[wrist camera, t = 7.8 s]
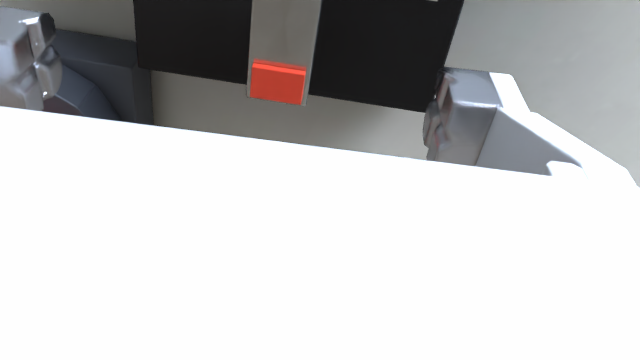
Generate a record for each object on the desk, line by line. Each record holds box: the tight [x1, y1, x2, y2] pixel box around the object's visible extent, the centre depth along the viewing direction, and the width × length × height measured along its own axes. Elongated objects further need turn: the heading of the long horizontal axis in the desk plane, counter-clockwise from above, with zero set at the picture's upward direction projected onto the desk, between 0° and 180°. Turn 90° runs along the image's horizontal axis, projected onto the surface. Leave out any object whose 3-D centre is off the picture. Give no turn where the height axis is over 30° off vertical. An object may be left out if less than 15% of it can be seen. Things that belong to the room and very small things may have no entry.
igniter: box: [42, 29, 153, 126], centre depth 24 cm, size 8×7×4 cm
